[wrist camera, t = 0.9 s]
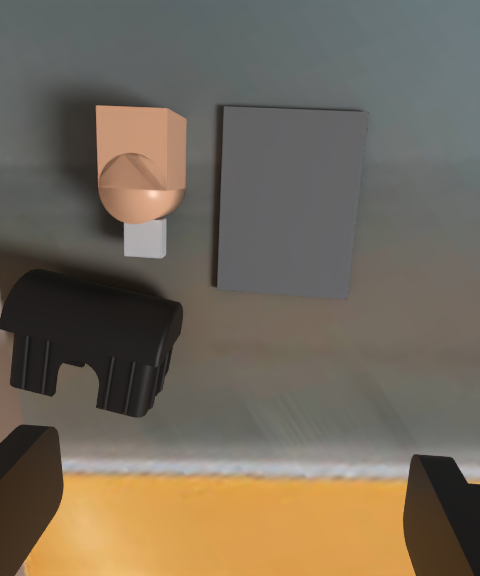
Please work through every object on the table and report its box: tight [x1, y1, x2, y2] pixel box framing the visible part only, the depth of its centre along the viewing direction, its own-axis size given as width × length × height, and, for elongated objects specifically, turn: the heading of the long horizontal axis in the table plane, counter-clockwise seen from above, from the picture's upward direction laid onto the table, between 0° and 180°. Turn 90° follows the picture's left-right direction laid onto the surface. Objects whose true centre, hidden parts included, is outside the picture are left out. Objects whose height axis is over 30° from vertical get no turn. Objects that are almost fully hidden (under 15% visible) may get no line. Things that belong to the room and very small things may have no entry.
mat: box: [217, 106, 369, 299], centre depth 29 cm, size 12×9×1 cm
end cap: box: [0, 269, 183, 417], centre depth 30 cm, size 10×7×7 cm
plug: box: [96, 105, 186, 258], centre depth 28 cm, size 9×4×5 cm, turn 178°
